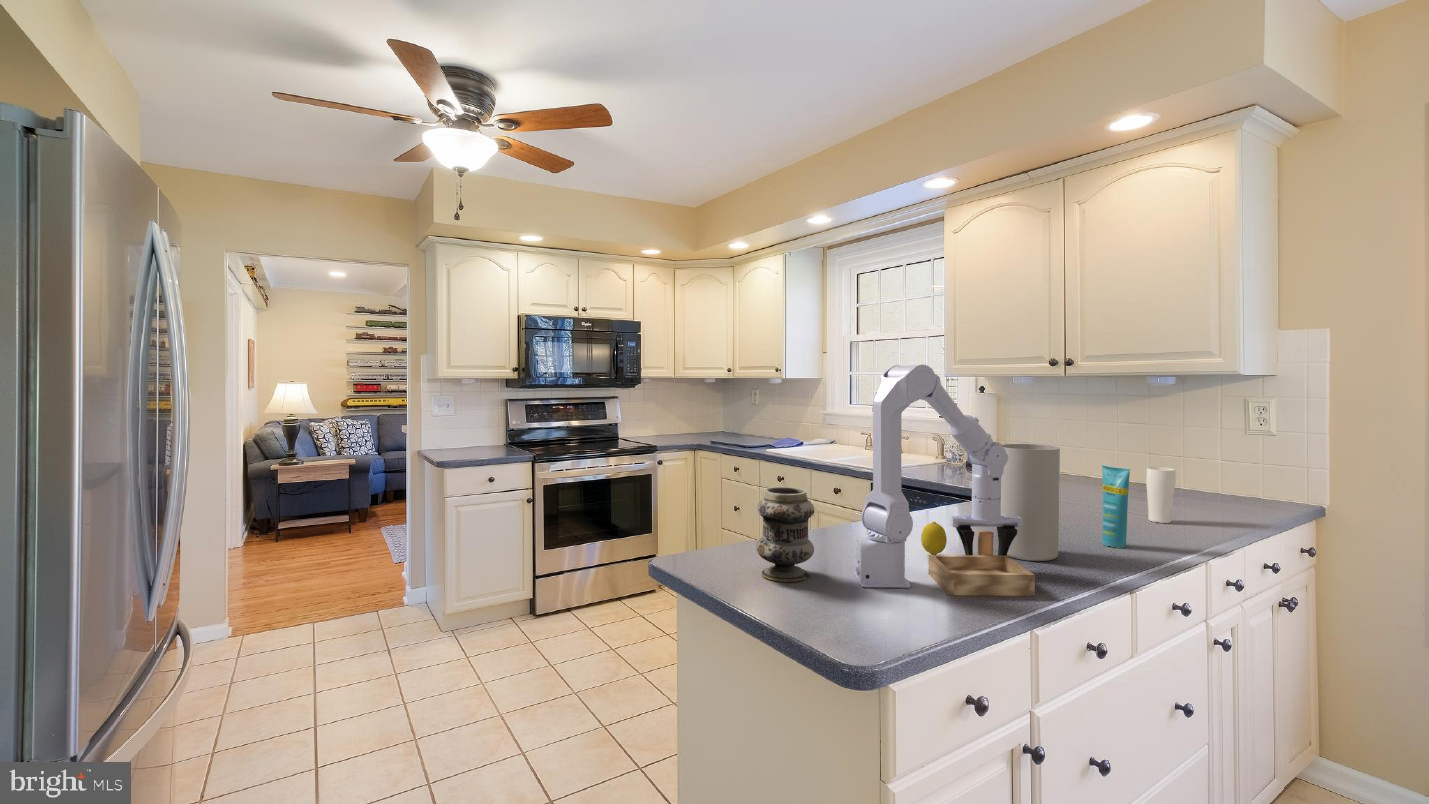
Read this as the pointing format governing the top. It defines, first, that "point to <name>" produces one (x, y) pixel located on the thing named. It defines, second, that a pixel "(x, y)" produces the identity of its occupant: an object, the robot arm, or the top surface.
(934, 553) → the lemon
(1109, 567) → the top surface
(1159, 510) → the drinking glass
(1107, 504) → the tube
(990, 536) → the peg
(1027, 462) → the cylinder vase
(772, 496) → the apothecary jar
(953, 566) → the box
